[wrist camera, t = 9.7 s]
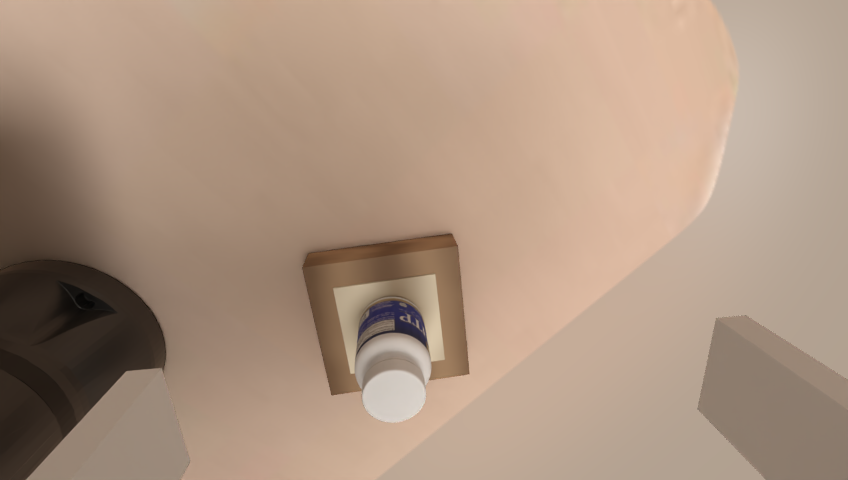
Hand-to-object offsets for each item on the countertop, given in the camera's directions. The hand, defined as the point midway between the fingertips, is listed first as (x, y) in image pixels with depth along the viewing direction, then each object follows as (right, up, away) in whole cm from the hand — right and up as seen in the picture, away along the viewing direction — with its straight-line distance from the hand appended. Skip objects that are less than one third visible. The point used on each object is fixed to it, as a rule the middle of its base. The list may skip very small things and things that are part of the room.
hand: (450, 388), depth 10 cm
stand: (-4, -2, +27) cm, 28 cm away
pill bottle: (-3, -3, +24) cm, 25 cm away
